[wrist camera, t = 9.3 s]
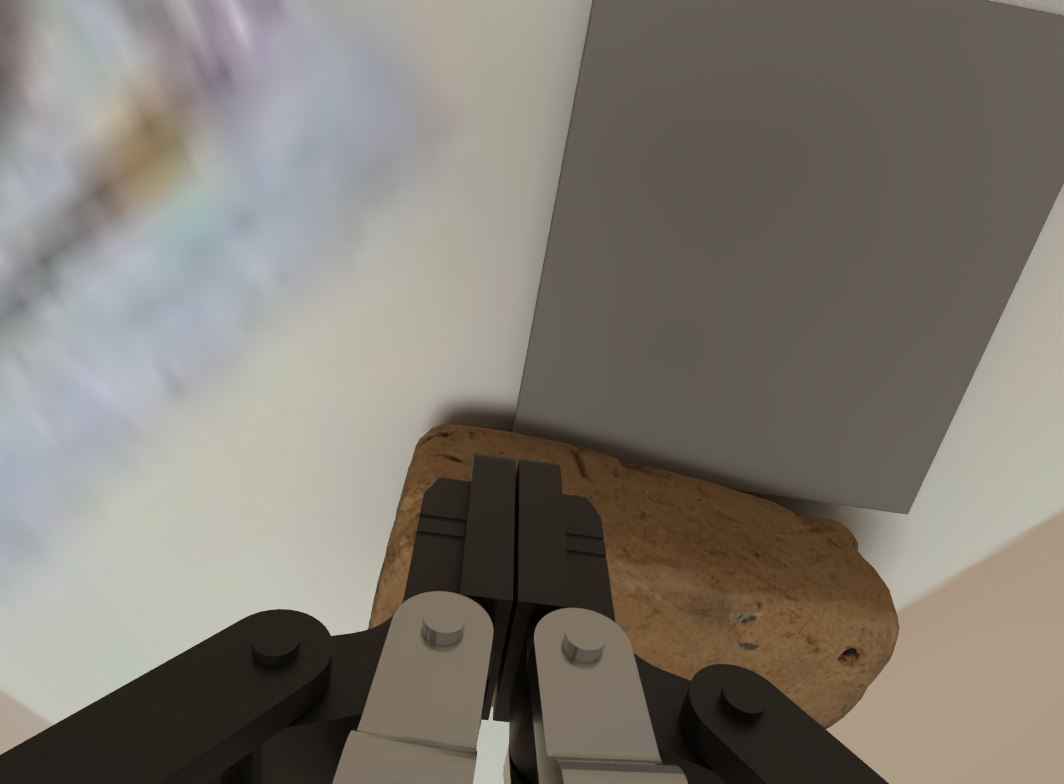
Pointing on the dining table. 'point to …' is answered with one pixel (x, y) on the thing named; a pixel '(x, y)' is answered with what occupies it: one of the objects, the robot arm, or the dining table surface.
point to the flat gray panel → (790, 235)
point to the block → (694, 570)
